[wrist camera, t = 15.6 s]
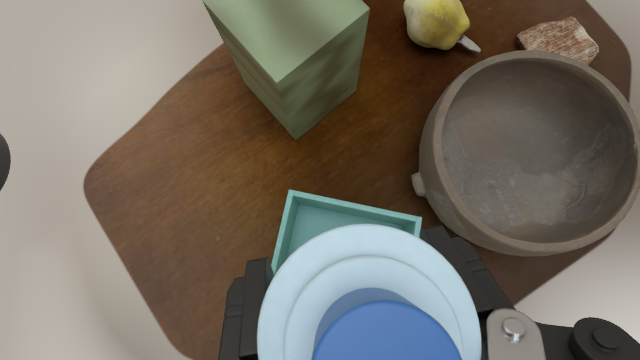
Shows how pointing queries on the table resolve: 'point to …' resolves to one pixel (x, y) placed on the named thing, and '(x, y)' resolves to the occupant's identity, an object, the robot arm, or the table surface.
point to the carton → (329, 221)
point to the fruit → (437, 23)
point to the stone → (560, 40)
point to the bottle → (367, 301)
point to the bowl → (530, 155)
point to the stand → (295, 53)
